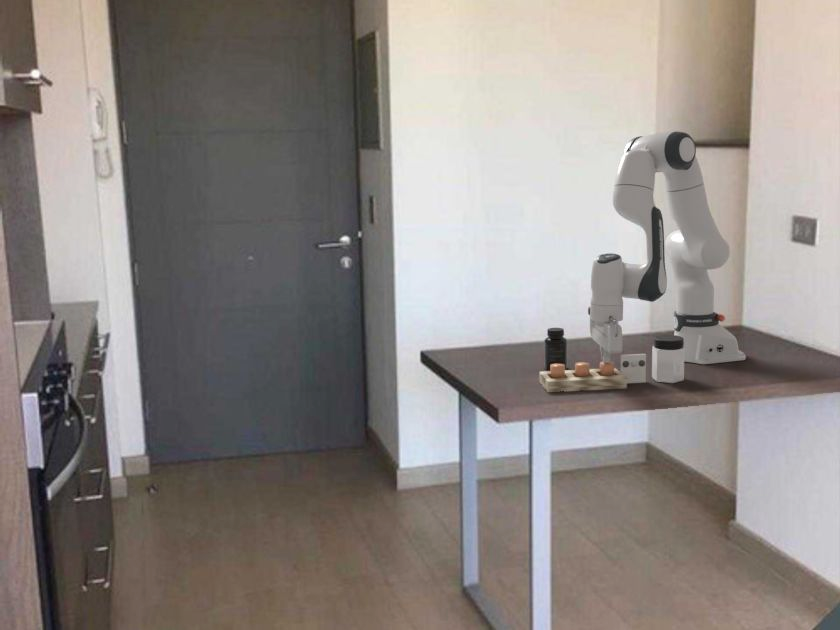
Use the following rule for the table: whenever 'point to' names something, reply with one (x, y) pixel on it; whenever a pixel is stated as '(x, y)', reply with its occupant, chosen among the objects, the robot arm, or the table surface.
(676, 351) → the jar
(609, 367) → the button
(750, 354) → the table surface
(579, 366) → the button mid
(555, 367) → the button
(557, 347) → the supplement bottle
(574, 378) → the wooden egg tray
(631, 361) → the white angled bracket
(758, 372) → the table surface
